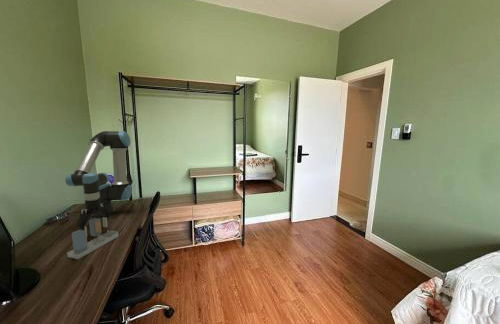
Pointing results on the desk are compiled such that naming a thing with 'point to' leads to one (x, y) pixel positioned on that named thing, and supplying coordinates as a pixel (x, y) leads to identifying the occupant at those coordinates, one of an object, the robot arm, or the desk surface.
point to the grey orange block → (95, 227)
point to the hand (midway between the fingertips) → (95, 231)
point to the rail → (89, 243)
